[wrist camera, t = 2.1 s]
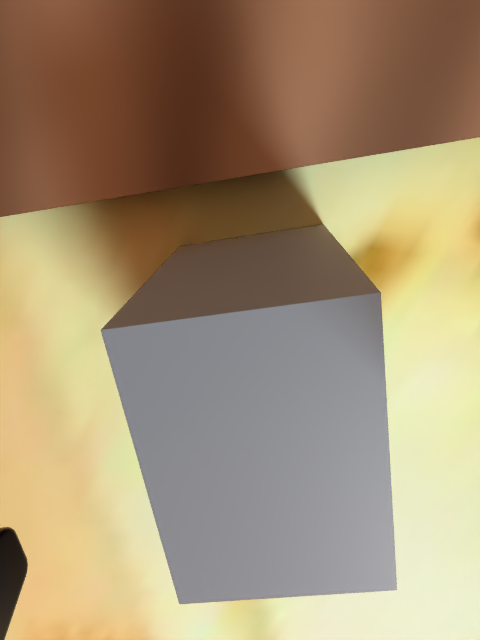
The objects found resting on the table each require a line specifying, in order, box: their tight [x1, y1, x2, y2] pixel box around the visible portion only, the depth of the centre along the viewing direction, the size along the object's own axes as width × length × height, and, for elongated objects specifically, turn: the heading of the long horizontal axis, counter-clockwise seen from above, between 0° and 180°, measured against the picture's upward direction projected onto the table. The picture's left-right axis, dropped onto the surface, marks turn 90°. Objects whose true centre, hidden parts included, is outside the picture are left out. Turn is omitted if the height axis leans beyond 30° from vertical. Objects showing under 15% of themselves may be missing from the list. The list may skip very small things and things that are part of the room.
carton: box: [101, 224, 397, 604], centre depth 13 cm, size 5×7×8 cm
